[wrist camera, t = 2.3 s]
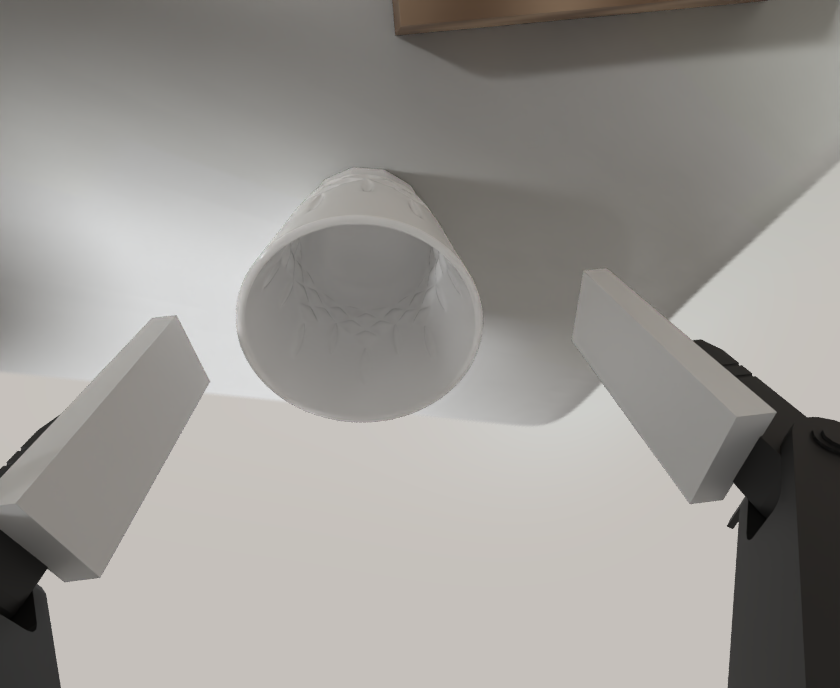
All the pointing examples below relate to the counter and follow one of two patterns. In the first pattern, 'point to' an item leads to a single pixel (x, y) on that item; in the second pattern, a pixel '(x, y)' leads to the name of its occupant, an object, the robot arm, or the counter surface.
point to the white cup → (360, 303)
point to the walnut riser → (520, 11)
